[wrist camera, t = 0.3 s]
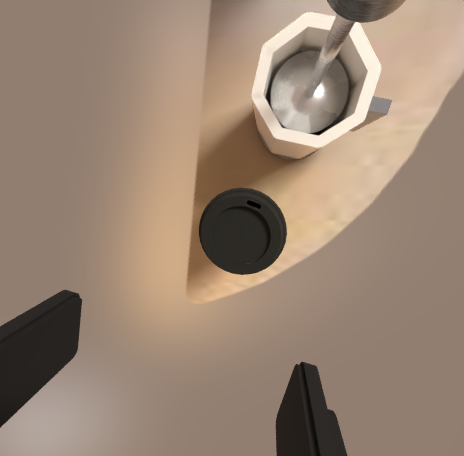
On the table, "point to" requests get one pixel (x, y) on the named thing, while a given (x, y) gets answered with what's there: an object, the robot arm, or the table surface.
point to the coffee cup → (242, 231)
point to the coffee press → (358, 73)
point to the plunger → (322, 71)
